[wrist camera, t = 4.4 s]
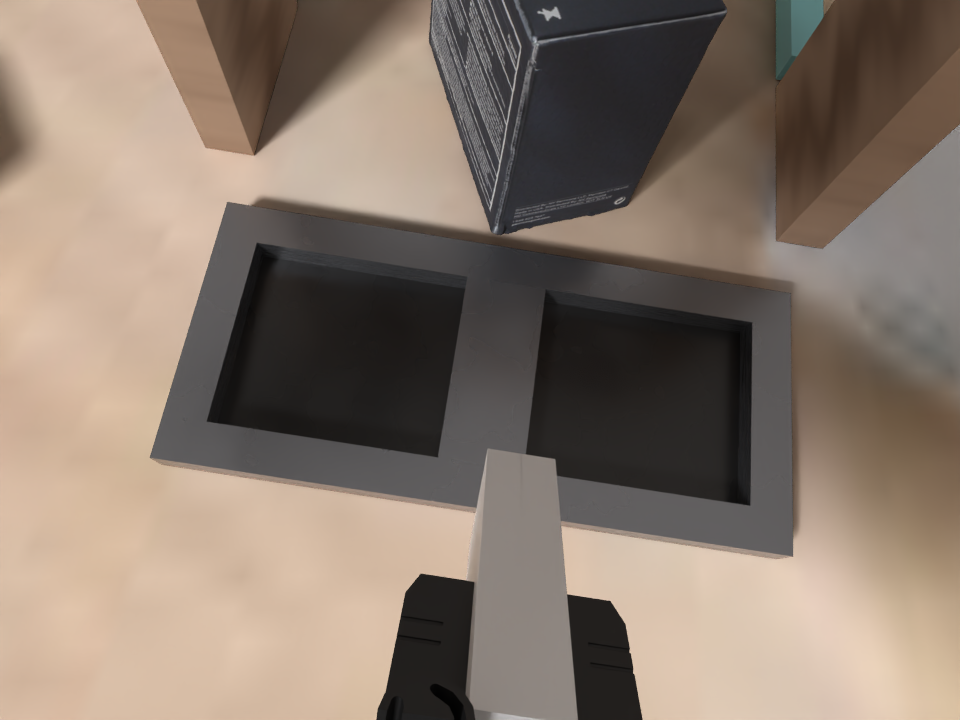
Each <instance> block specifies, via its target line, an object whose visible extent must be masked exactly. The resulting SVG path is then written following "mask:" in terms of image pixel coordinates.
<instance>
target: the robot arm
mask: <svg viewBox="0 0 960 720" xmlns="http://www.w3.org/2000/svg"><path fill="white" fill-rule="evenodd" d="M629 650H630V648H629V642H628V636H627V631H626V625H625V623H624V621H623V620H622V618H621V617H620V615H619V614H618V612H617V611H616V609H615V608H614V606H613V604H612V603H611V601H606V600H600V599H593V598H587V597H580V596H574V595H567V589H566V577H565V566H564V554H563V542H562V531H561V519H560V508H559V496H558V484H557V473H556V461H555V459H551V458H545V457H538V456H532V455H526V454H519V453H513V452H507V451H501V450H494V449H488V450H487V455H486V460H485V466H484V471H483V476H482V482H481V487H480V492H479V498H478V503H477V508H476V514H475V519H474V524H473V530H472V535H471V541H470V546H469V556H468V567H467V577H466V581H465V580H459V579H452V578H446V577H439V576H433V575H426V574H420V575H419V577H418V578H417V579H416V580H415V582H414V583H413V584H412V585H411V586H410V588H409V589H408V590H407V591H406V593H405V598H404V603H403V608H402V613H401V619H400V623H399V628H398V633H397V639H396V643H395V648H394V653H393V658H392V663H391V668H390V673H389V678H388V683H387V688H386V693H385V694H384V696H383V699H382V701H381V703H380V705H379V708H378V712H377V720H642V714H641V709H640V703H639V698H638V692H637V687H636V681H635V675H634V674H633V664H632V659H631V653H629Z"/></svg>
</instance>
